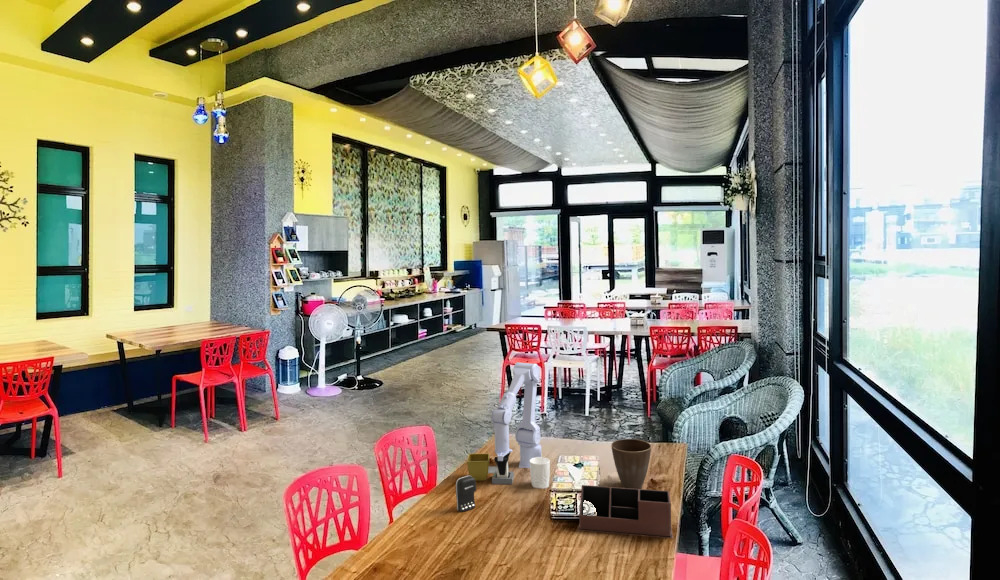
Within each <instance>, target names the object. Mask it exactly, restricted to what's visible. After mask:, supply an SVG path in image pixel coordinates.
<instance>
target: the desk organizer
mask: <svg viewBox="0 0 1000 580" xmlns="http://www.w3.org/2000/svg"><path fill="white" fill-rule="evenodd" d="M670 495H671V493H670V490H658V489H645V488H644V489H643V488H640V489H632V488H624V487H616V486H615V487H613V486H601V485H587V484H586V485H585V484H582V485H581V491H580V503H579V504H580V505H579V525H578V528H577V531H580V532H581V531H583V532H595V533H606V534H617V535H628V536H629V535H630V536H639V537H652V538H661V539H662V538H664V539H674V536H673V528H672V503H671V496H670ZM584 500H586V501H589V502H591V503H592V504H593V505H594V507H595V508H596V512H597V516H587V515H583V502H584Z"/></svg>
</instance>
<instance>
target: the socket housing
mask: <svg viewBox="0 0 1000 580" xmlns="http://www.w3.org/2000/svg"><path fill="white" fill-rule="evenodd" d="M492 474H493V475H492V478H491V485H513V482H514V477H515V471H509V470H508V478H497V471H494V473H492Z"/></svg>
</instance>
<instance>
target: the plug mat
mask: <svg viewBox="0 0 1000 580" xmlns="http://www.w3.org/2000/svg"><path fill="white" fill-rule="evenodd" d="M509 470H510V466H508V471H509ZM494 471H497V465H496V466H490V465H489V469H488V474H494Z"/></svg>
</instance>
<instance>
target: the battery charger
mask: <svg viewBox="0 0 1000 580" xmlns="http://www.w3.org/2000/svg"><path fill="white" fill-rule="evenodd" d="M455 481H456V482H455V498H456V511H458V512H463V513H464V512H467V511H470V510H473V509H475V508H476V502H475V501H476V500H475V492H477V481H475V479H474V478H473V477H472V476H470V475H469V474H468V475H465V476H462V477H461V476H460V477H459V478H457V479H456V480H455Z"/></svg>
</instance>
